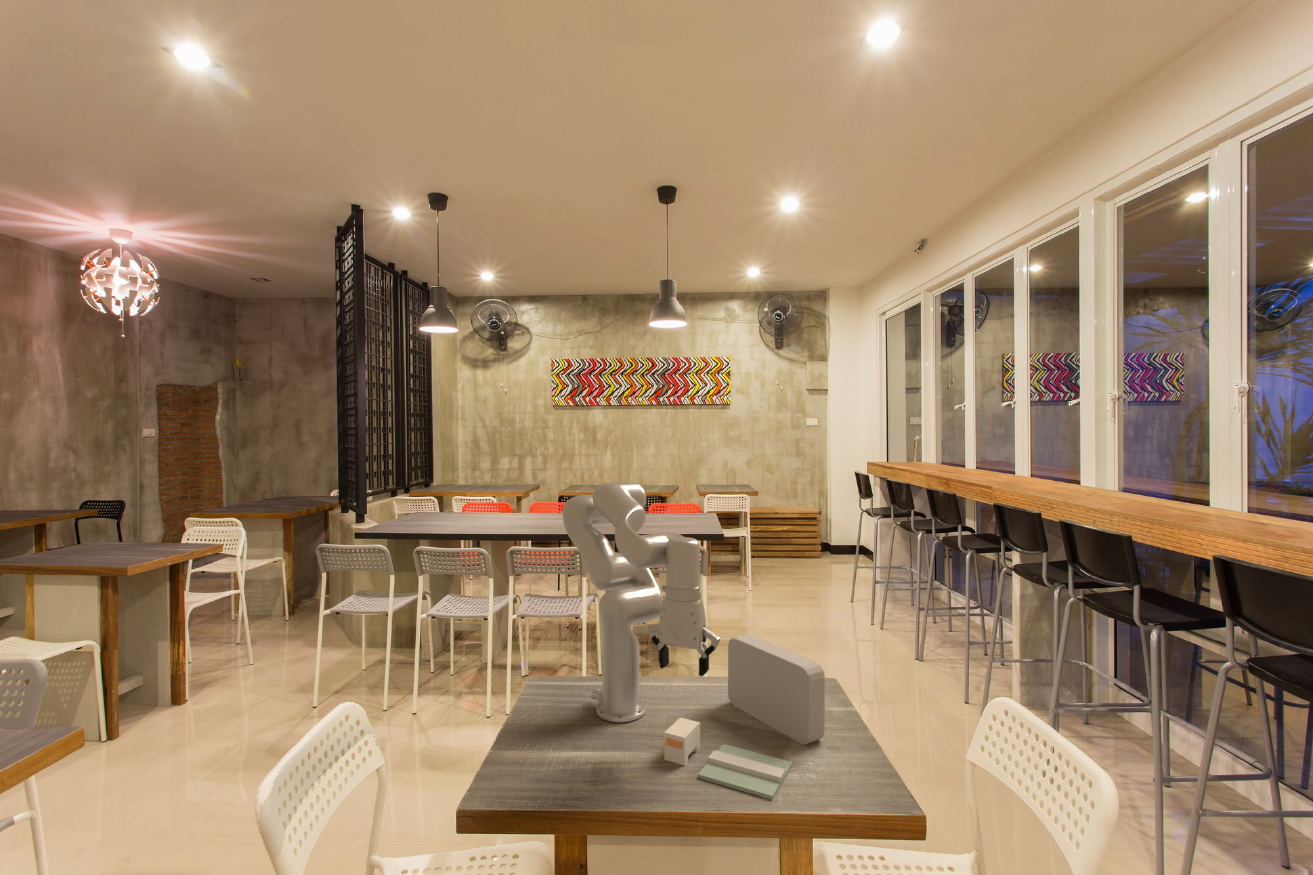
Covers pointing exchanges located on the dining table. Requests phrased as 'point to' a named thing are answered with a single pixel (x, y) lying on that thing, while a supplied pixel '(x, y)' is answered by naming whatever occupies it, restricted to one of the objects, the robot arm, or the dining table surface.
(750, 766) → the rail board
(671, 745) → the block
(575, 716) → the dining table surface
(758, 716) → the grey rounded block
